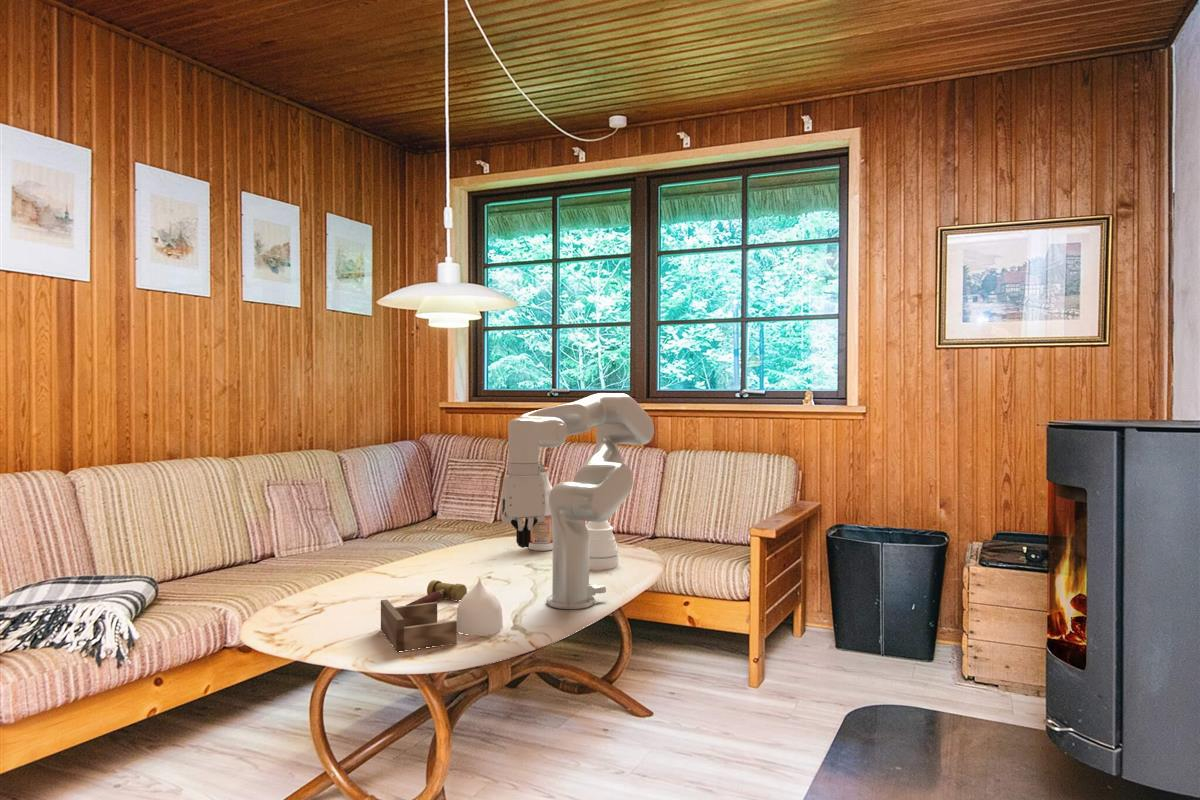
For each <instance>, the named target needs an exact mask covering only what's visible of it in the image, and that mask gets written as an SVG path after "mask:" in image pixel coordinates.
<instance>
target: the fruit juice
mask: <svg viewBox="0 0 1200 800" xmlns="http://www.w3.org/2000/svg"><path fill="white" fill-rule="evenodd" d="M548 474H549V467H546V466H545V470H541V473H540V475H542V478H543V483H544V490H545V505H546V508H545V514H544V515H545V520H543V521H540V522H537V523H536V524H535V525H534V526H533V528H532V530H531V533H530V543H529V547H527V548H528V550H531V551H536V552H544V551H551V550H552V551H553V526H552V517H551V512H550V507H549V495H550V492H551V490H552V488H553V487H554V486H552V484H551V483H550V478H549V475H548Z"/></svg>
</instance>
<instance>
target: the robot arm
mask: <svg viewBox="0 0 1200 800" xmlns="http://www.w3.org/2000/svg"><path fill="white" fill-rule="evenodd" d="M654 425H655V424H654V422H653V420H652V418H651V417H650V415H649V414H648V412H646V410H644V409H643V407H642V406H641V405H640V404H639V403H638V401H636V400H635V399H634V398H633V397H632V396H630V395H628V394H626V393H619V392H617V393H611V392H609V393H608V392H607V393H606V392H598V393H594V394H590V395H589V396H586V397H583V398H581V399H578V400H575V401H572V402H568V403H563V404H559V405H556V406H550V407H545V408H541V409H538V410H533V411H531V412H527V413H523V414H521V415H520V416H518V417H517V418H513V419H511V420H510V421H509V423H508V440H507V442H508V448H507V450H508V462H507V463H508V464H507V465H508V466H507V473H508V474H507V475H504V477H503V483H502V487H501V488H502V489H501V496H500V497H501V499H500V514H501V517H502V518H501V523H503V524H505V525H506V524H507V525H511V526H512V527H513V528H514V529H515V530H516V538H515V539H516V540H515V541H516V544H517V545H518V547H519V548H522V549H525V548H528V547H529V543H530V533H531V530H532V528H533V526H534V525H535V524H536V523H537V522H540V521H543V520H545V515H544V514H545V508H546V505H545V490H544V483H543V478H542V475H540V473H541V470H545V467H546V465H545V464H542V463H541V448H552V449H553V448H558V447H559V446H561V445H563V444H564V443H565V442H566V440H567V438H568V436H575V435H580V434H583V433H587V432H588V431H591V430H592V429H596V430H595V431H596V433H595V434H596V437H595V439H596V447H595V448H596V449H595V451H594V452H593V453H592V455H591V456H590V457H589V458H588V459H587V460H585V462H584V463H583V464H582V465H581V466H580V467H578V469H577V471H576V472H575V474H574V480H573V481H563V482H559V483H557V484H555V485H554V486H552V487H553V488H552V490H551V492H550V495H549V507H550V512H551V517H552V526H553V549H552V594H550V595H548V596H547V597H546V601H545V602H546V605H548V606H550V607H552V608H555V609H560V610H561V609H562V610H579V609H585V608H590V607H591V606H593V605H595V603H596V602H595V600H596V599H595V597H594V596H595V595H596V594H605V593H606V592H607V588H606V586H605V585H598V586H597V584H594V585H592V584H590V569H589V533H588V530H587V527H586V525H587V524H586V523H585V522H589V521H592V522H603V521H606V520H609V519H610V518H611V517H612V516H614V515H613V514H614V513H616V511H617V510H618V509H619V508H620V506H621V505H622V504H623V503H624V502H625V501H626V499H628V496H629V495H630V493H631V491H632V488H633V484H634V473H633V472H632V469H631V467H630V466H629V465H627V464H625V463H624V462H623V456H622V455H621V452H620V450H619V449H618V445H633V446H634V445H636V446H643V445H646V444H648V443H650V442H651V441H652V439H653V437H654V434H655V426H654ZM523 519H524V522H523Z"/></svg>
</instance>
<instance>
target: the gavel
mask: <svg viewBox="0 0 1200 800" xmlns="http://www.w3.org/2000/svg"><path fill="white" fill-rule="evenodd" d="M426 587H427V588H426V594H427V595H424V596H422V597H420V598H418V599H416V600H414V601H412V602H410V603H407V604H405V605H404V606H407V605H416V604H424V603H432V602H438V601H439V600H441V599H445V598H447V599H446V600H451V599H452V601H453V600H457V601H456V602H458V601H459V600H462V598H463V597H464V595H465V594H466V593H468V591H467V590H468V589H467V586H466V584H462V583H456V584H454V583H446V582H442V581H440V580H435V579H433V580H431V581H429V583H428V585H427V586H426ZM459 602H460V601H459Z"/></svg>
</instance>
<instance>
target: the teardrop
mask: <svg viewBox="0 0 1200 800" xmlns="http://www.w3.org/2000/svg"><path fill="white" fill-rule="evenodd" d="M456 609H457V611H456V619H455V620H456V621H457V631H458V632H460V633H463V634H468V635H485V636H488V635H487V634H491V635H494V634H493V633H495V634H497V633H496V632H498V633H500V632H501V631H502V630H503V629H504V622H503V609H502V605H501V603H500V600H499V598H498V597H497V595H496V594H495V593H494V592H493V591H492V590H491V589H490V588H488V587H487V586H485V585H484V584H483V582H482V580H481V578H480V577H479V578H478V581H477V583H476V584H475V585H474V586H473V587H472V588H471V589H469V590H468V591H467V593H466V594H465V595H464V597H463V598H462V600H461V601H459V603H458V605H457V608H456ZM502 628H503V629H502ZM501 629H502V630H501ZM500 630H501V631H500ZM499 631H500V632H499ZM458 632H457V633H458ZM463 634H462V635H463ZM468 635H467V636H468Z"/></svg>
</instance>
